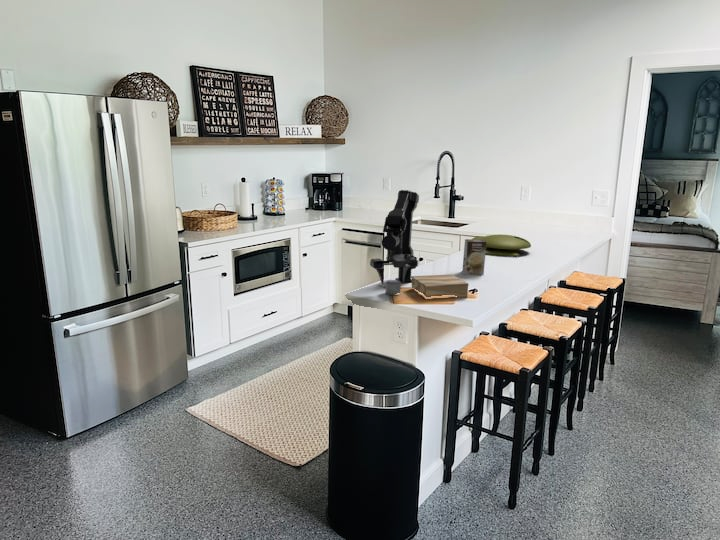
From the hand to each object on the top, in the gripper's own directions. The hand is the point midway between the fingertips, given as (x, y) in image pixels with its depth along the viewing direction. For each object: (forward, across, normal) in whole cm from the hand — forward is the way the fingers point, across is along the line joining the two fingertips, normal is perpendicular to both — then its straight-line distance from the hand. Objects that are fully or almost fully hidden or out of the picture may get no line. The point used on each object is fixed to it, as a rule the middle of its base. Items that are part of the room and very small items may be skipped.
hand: (393, 283), depth 216 cm
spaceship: (+5, +92, +76) cm, 119 cm away
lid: (-1, +19, -3) cm, 19 cm away
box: (+4, +19, -3) cm, 20 cm away
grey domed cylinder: (+4, 0, 0) cm, 4 cm away
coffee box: (+5, +50, +27) cm, 57 cm away
